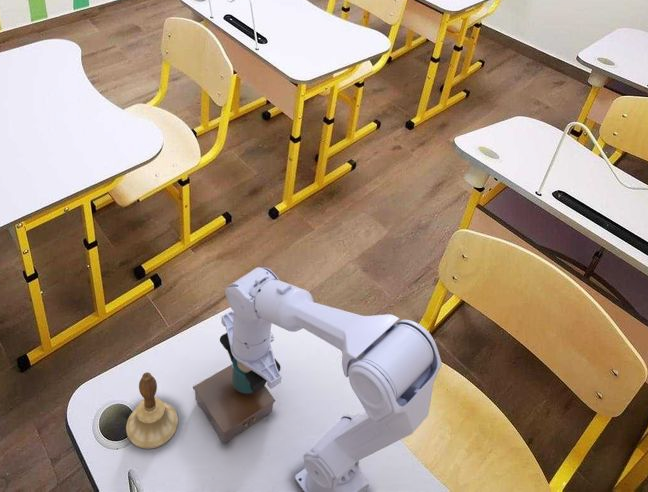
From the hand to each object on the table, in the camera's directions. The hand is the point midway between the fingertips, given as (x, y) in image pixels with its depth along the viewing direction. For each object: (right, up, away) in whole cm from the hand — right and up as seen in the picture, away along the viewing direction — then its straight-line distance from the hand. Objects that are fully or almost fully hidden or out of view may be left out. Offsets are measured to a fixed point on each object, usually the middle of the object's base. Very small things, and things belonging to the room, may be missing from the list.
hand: (248, 375), depth 98 cm
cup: (0, -1, +1) cm, 1 cm away
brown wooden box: (-3, -7, +4) cm, 9 cm away
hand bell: (-16, -8, 0) cm, 18 cm away
